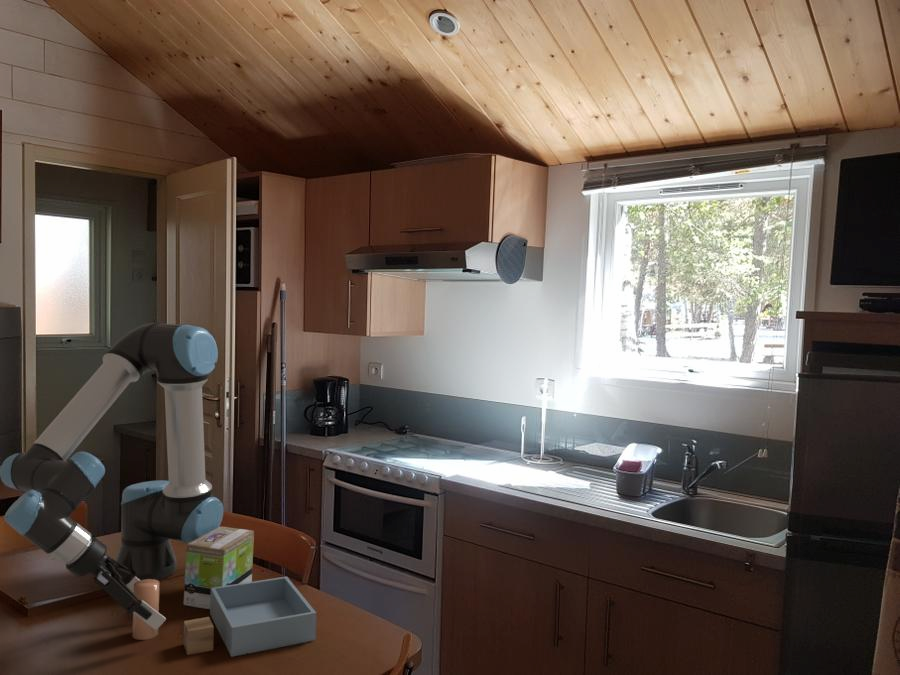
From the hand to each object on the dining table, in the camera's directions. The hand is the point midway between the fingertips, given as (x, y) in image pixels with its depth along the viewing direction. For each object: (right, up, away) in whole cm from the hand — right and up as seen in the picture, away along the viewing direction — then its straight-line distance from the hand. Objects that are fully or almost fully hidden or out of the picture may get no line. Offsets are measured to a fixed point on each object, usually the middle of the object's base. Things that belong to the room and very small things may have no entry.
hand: (156, 611), depth 156 cm
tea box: (+7, -4, +20) cm, 22 cm away
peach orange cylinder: (-2, -5, -1) cm, 5 cm away
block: (+11, -6, -5) cm, 13 cm away
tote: (+21, -5, +5) cm, 22 cm away
